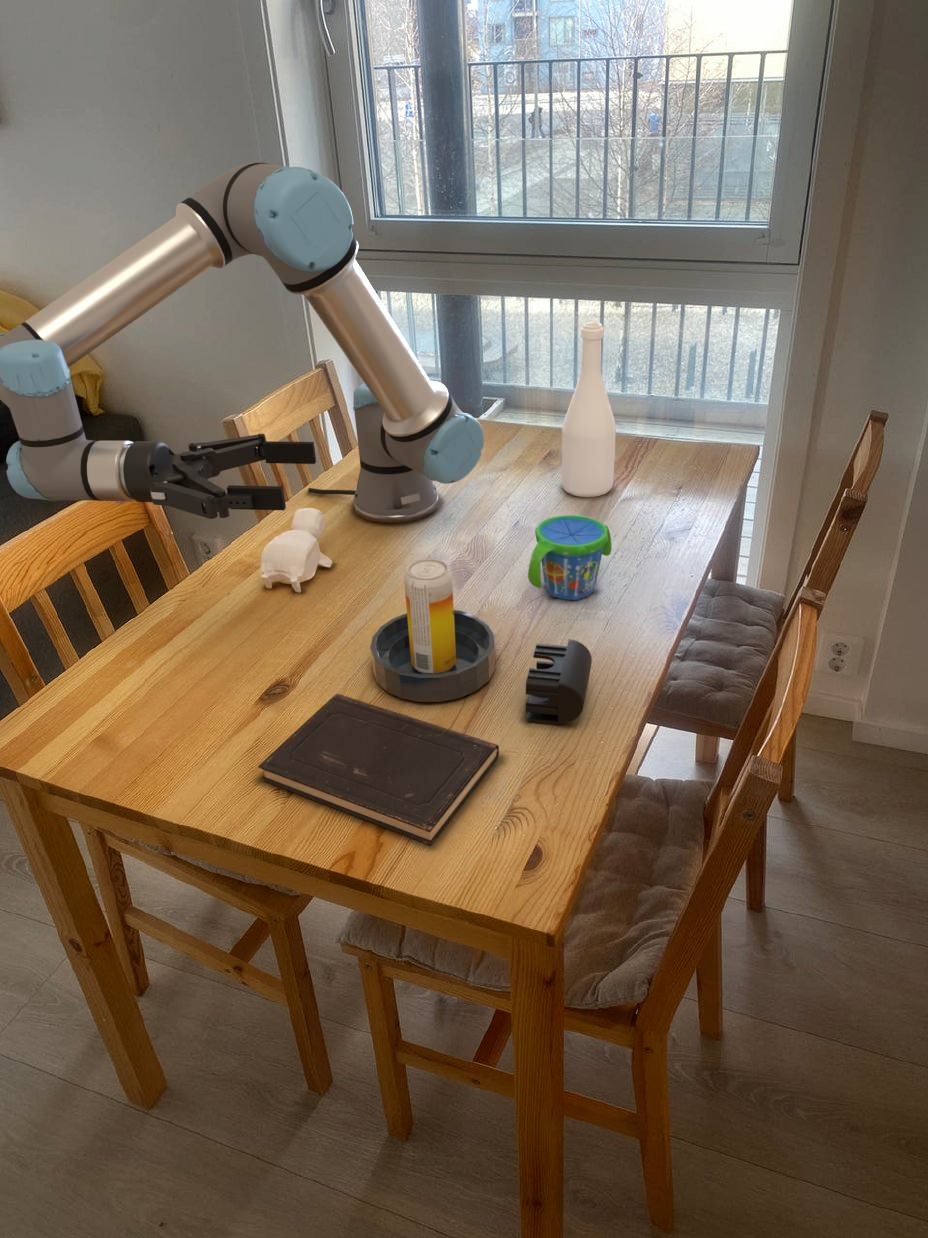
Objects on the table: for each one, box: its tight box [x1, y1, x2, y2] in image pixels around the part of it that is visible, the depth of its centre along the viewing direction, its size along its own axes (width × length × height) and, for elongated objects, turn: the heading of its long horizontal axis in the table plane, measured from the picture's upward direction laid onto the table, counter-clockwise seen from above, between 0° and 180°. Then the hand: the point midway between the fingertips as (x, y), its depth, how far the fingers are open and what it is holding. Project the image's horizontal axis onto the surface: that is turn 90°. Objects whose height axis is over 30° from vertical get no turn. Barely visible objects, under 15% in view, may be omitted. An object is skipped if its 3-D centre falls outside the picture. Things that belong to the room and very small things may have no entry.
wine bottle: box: [560, 321, 617, 498], centre depth 167 cm, size 10×10×30 cm
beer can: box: [403, 557, 456, 674], centre depth 123 cm, size 6×6×15 cm
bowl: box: [370, 609, 496, 703], centre depth 127 cm, size 16×16×4 cm
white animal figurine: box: [260, 507, 333, 593], centre depth 151 cm, size 9×8×15 cm
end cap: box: [525, 638, 593, 726], centre depth 118 cm, size 10×7×7 cm
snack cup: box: [527, 514, 613, 601], centre depth 141 cm, size 16×10×10 cm
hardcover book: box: [257, 693, 500, 846], centre depth 110 cm, size 16×23×2 cm
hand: (300, 474), depth 115 cm, fingers open, 13 cm apart
